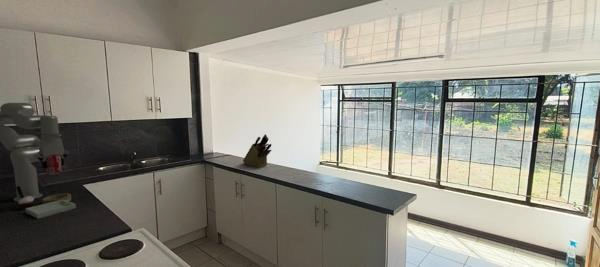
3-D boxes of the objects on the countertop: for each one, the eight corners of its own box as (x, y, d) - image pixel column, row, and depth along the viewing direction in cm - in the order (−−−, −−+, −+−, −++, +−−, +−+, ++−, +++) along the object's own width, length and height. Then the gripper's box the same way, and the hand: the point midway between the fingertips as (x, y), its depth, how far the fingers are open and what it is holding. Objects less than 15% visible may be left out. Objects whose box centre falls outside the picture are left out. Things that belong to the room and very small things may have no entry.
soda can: (60, 171, 163) (58, 152, 162) (63, 173, 158) (61, 153, 157) (45, 174, 157) (42, 153, 156) (47, 175, 153) (45, 155, 152)
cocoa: (35, 208, 151) (35, 187, 150) (20, 211, 146) (19, 190, 145) (31, 204, 156) (30, 184, 155) (15, 207, 151) (15, 186, 150)
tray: (26, 212, 143) (25, 208, 143) (63, 203, 157) (63, 199, 157) (37, 218, 136) (37, 214, 135) (76, 208, 150) (75, 204, 149)
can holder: (39, 203, 158) (38, 198, 158) (65, 197, 169) (65, 192, 168) (48, 207, 152) (47, 201, 152) (74, 200, 163) (74, 195, 162)
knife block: (263, 169, 241) (262, 135, 238) (242, 163, 267) (241, 132, 264) (273, 167, 249) (272, 134, 246) (252, 161, 274) (251, 132, 271)
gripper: (66, 135, 165) (68, 163, 167) (27, 138, 150) (31, 169, 152) (71, 135, 162) (74, 164, 163) (33, 138, 146) (36, 170, 148)
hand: (53, 166), depth 158 cm, fingers closed on soda can, 6 cm apart
